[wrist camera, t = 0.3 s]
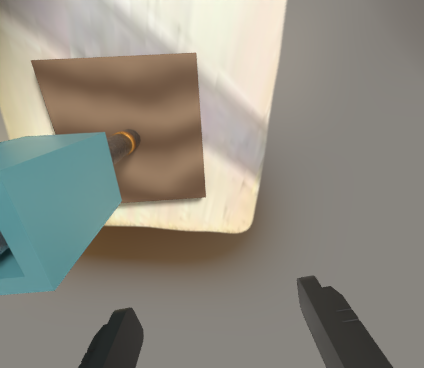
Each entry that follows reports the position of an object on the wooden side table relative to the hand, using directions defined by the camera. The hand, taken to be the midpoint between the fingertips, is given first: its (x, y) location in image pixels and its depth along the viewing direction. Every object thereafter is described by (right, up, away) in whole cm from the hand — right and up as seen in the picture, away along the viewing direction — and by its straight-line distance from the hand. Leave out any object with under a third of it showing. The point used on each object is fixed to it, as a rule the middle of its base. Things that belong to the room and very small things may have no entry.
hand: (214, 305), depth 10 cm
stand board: (-10, +12, +18) cm, 24 cm away
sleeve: (-10, +7, +5) cm, 13 cm away
